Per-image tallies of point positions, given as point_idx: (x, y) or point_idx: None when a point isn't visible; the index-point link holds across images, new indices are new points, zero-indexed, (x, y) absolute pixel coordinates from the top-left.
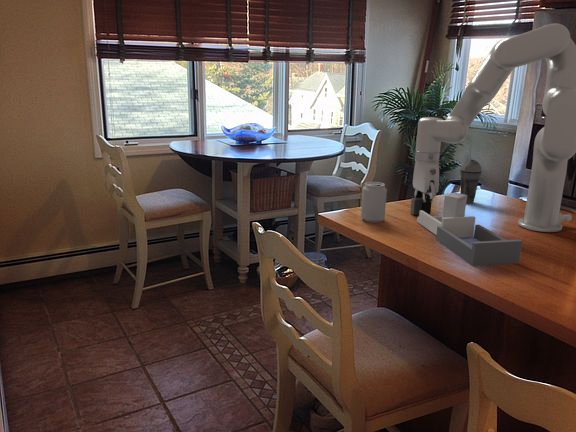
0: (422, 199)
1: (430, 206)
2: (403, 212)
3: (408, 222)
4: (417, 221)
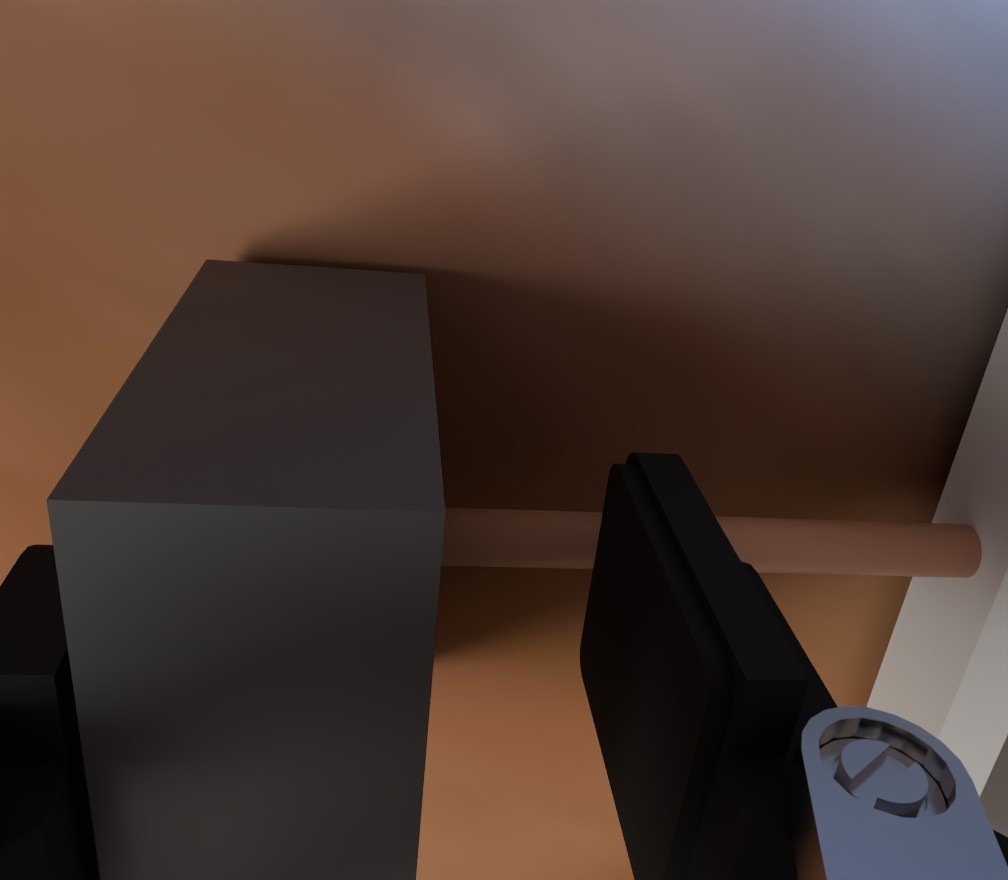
0: (411, 864)
1: (732, 583)
2: None
3: None
4: None
